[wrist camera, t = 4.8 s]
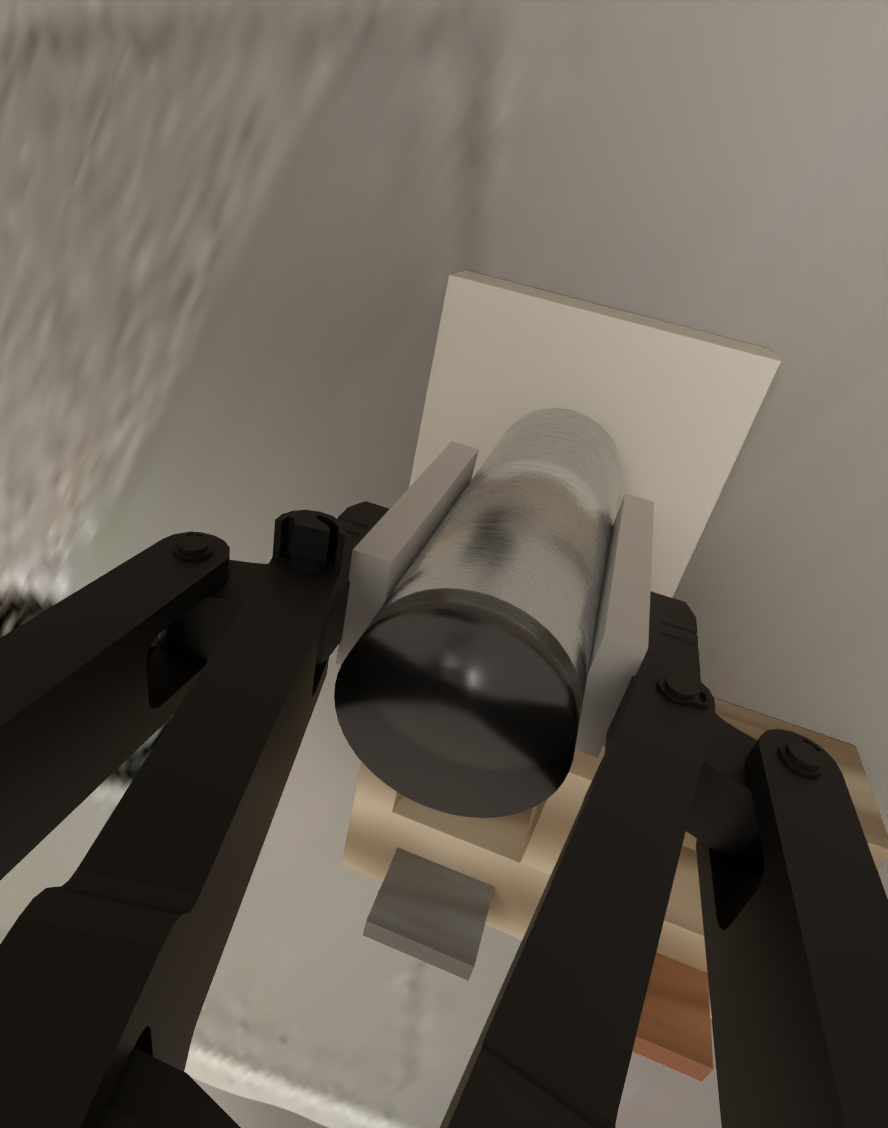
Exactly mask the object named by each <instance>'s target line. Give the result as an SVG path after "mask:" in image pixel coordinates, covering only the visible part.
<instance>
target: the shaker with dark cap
mask: <svg viewBox="0 0 888 1128" xmlns="http://www.w3.org/2000/svg"><path fill="white" fill-rule="evenodd" d="M620 479H621V462H620V457H619V453H618V450H617V448H616V445H615V443H614V441H613V440H612V438H611V437H610V435H609V434H608V433H607V432H606V430H605V429H604V428H603V427H602V426H601V425H599V424H598V423H597V422H596V421H594V420H593V419H591V418H590V417H588V416H586V415H584V414H582V413H579V412H576V411H573V410H568V409H560V408H551V409H543V410H539V411H535V412H532V413H530V414H528V415H526V416H524V417H522V418H520V419H519V420H517V421H516V422H515V423H514V424H513V425H511V426H510V427H509V429H508V430H507V431H506V432H505V433H504V435H503V436H502V437H501V439H500V440H499V442H498V443H497V445H496V446H495V447H494V449H493V450H492V452H491V453H490V454H489V456H488V457H487V459H486V460H485V462H484V463H483V464H482V466H481V467H480V469H479V470H478V471H477V473H476V474H475V476H474V477H473V478H472V480H471V481H470V483H469V484H468V486H467V487H466V488H465V490H464V491H463V493H462V494H461V495H460V497H459V498H458V500H457V501H456V503H455V504H454V505H453V507H452V508H451V510H450V511H449V512H448V514H447V515H446V517H445V518H444V519H443V521H442V522H441V524H440V525H439V527H438V528H437V529H436V531H435V532H434V534H433V535H432V536H431V538H430V539H429V541H428V542H427V544H426V545H425V546H424V548H423V549H422V551H421V552H420V553H419V555H418V556H417V558H416V559H415V560H414V562H413V563H412V565H411V566H410V568H409V569H408V570H407V572H406V573H405V575H404V576H403V577H402V579H401V580H400V582H399V583H398V585H397V586H396V587H395V589H394V590H393V592H392V593H391V594H390V596H389V597H388V599H387V600H386V601H385V603H384V604H383V606H382V607H381V609H380V610H379V611H378V613H377V614H376V616H375V617H374V618H373V620H372V621H371V623H370V624H369V626H368V627H367V628H366V630H365V631H364V633H363V634H362V635H361V637H360V638H359V640H358V641H357V642H356V644H355V645H354V647H353V648H352V650H351V651H350V652H349V654H348V655H347V657H346V658H345V660H344V661H343V663H342V665H341V667H340V670H339V672H338V675H337V679H336V683H335V695H334V698H335V709H336V713H337V717H338V721H339V724H340V726H341V729H342V732H343V734H344V736H345V738H346V739H347V741H348V743H349V745H350V746H351V748H352V749H353V751H354V752H355V754H356V755H357V756H358V758H359V759H360V760H361V761H362V762H363V763H364V765H365V766H366V767H367V768H368V769H369V770H370V771H371V772H372V773H373V774H374V775H375V776H376V777H378V778H379V779H380V780H381V781H383V782H384V783H385V784H386V785H388V786H389V787H391V788H392V789H394V790H395V791H397V792H398V793H400V794H401V795H403V796H405V797H407V798H409V799H411V800H412V801H415V802H417V803H419V804H421V805H424V806H426V807H429V808H432V809H434V810H437V811H440V812H444V813H448V814H452V815H457V816H464V817H473V818H496V817H503V816H510V815H514V814H517V813H521V812H524V811H526V810H529V809H531V808H533V807H536V806H537V805H539V804H541V803H542V802H544V801H545V800H547V799H548V798H549V797H550V796H551V795H553V794H554V793H555V792H556V791H557V790H558V788H559V787H560V786H561V785H562V784H563V782H564V780H565V779H566V777H567V775H568V773H569V771H570V768H571V765H572V762H573V758H574V752H575V746H576V740H577V734H578V728H579V722H580V716H581V711H582V705H583V699H584V693H585V687H586V680H587V674H588V668H589V662H590V656H591V650H592V644H593V638H594V632H595V626H596V621H597V615H598V609H599V603H600V597H601V591H602V585H603V579H604V573H605V567H606V561H607V555H608V550H609V544H610V538H611V532H612V526H613V521H614V515H615V509H616V503H617V497H618V491H619V485H620Z"/></svg>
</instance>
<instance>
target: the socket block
mask: <svg viewBox="0 0 888 1128" xmlns="http://www.w3.org/2000/svg"><path fill="white" fill-rule="evenodd" d="M714 699H715V713H716V714H717V715H719V716H720V717H721V718H722V719H723V720H724V721H726V722H727V723H729V724H731V725H732V726H734V727H735V728H737V729H739V730H740V731H742V732H744V733H746V734H747V735H749V736H751V737H753V738H754V739H756V740H758V739H759V737H760V736H761V735H762V734H763V733H764V732H765V731H766V730H772V729H782V730H788V731H793V732H795V733H797V734H799V735H802V736H804V737H806V738H808V739H810V740H812V741H813V742H814V743H816V744H818V745H819V746H820V747H822V748H823V749H824V750H825V751H826V752H827V753H828V754H829V755H830V756H831V757H832V758H833V759H834V760H835V761H836V763H837V765H838V767H839V768H840V770H841V772H842V774H843V776H844V779H845V782H846V785H847V788H848V790H849V793H850V796H851V799H852V802H853V804H854V807H855V810H856V813H857V815H858V818H859V821H860V824H861V827H862V829H863V832H864V835H865V838H866V840H867V843H868V846H869V849H870V852H871V854H872V857H873V860H874V863H875V865H876V868H877V870H878V869H879V868H880V866H881V865H882V864H883V863H884V862H885V861H886V860H887V859H888V835H887V832H886V829H885V826H884V824H883V821H882V818H881V815H880V813H879V810H878V807H877V804H876V802H875V799H874V796H873V793H872V790H871V788H870V785H869V782H868V779H867V777H866V774H865V771H864V768H863V766H862V763H861V760H860V757H859V755H858V752H857V749H856V746H853V745H850V744H847V743H844V742H841V741H838V740H835V739H832V738H829V737H827V736H824V735H821V734H818V733H815V732H812V731H809V730H806V729H803V728H800V727H797V726H794V725H792V724H789V723H786V722H783V721H780V720H777V719H774V718H771V717H768V716H765V715H762V714H759V713H756V712H754V711H751V710H748V709H745V708H742V707H739V706H736V705H733V704H730V703H727V702H724V701H721V700H719V699H716V698H714ZM605 743H606V741H605ZM605 743H604V745H603V747H602V749H601V752H600V754H599V756H598V758H596V757H594V756H591V755H588V754H585V753H583V752H580V751H577V750H575V752H574V758H573V762H572V765H571V768H570V771H569V773H568V775H567V777H566V779H565V780H564V782H563V784H562V785H561V786H560V787H559V788H558V790H557V791H556V792H555V793H554V794H553V795H551V796H550V797H549V798H548V799H547V800H545V801H544V802H542V803H541V804H539V805H537V806H536V807H533V808H531V809H529V810H526V811H524V812H521V813H517V814H514V815H510V816H503V817H496V818H473V817H464V816H457V815H452V814H448V813H444V812H440V811H437V810H434V809H432V808H429V807H426V806H424V805H421V804H419V803H417V802H415V801H412V800H411V799H409V798H407V797H405V796H403V795H401V794H400V793H398V792H397V791H395V790H394V789H392V788H391V787H389V786H388V785H386V784H385V783H384V782H383V781H381V780H380V779H379V778H378V777H376V776H375V775H374V774H373V773H372V772H371V771H370V770H369V769H368V768H367V767H366V766H365V765H364V763H363V762H361V767H360V773H359V778H358V783H357V788H356V793H355V798H354V803H353V809H352V814H351V819H350V824H349V829H348V834H347V839H346V844H345V850H344V855H343V860H342V865H343V866H345V867H348V868H350V869H352V870H355V871H357V872H360V873H362V874H364V875H367V876H369V877H372V878H374V879H376V880H379V881H381V882H383V883H382V885H381V888H380V890H379V892H378V895H377V897H376V899H375V902H374V904H373V906H372V909H371V911H370V914H369V916H368V918H367V921H366V925H365V929H364V933H363V935H364V936H366V937H369V938H371V939H373V940H376V941H378V942H380V943H383V944H385V945H387V946H389V947H392V948H394V949H396V950H399V951H401V952H403V953H406V954H408V955H410V956H413V957H415V958H417V959H420V960H422V961H424V962H427V963H429V964H431V965H434V966H436V967H438V968H440V969H443V970H445V971H447V972H450V973H452V974H454V975H457V976H459V977H461V978H464V979H466V980H469V978H470V975H471V973H472V970H473V968H474V965H475V961H476V957H477V953H478V949H479V945H480V941H481V938H482V934H483V930H484V926H485V925H487V926H489V927H492V928H494V929H497V930H499V931H501V932H504V933H506V934H509V935H511V936H513V937H516V938H518V939H521V940H522V939H523V937H524V935H525V933H526V930H527V928H528V926H529V924H530V921H531V919H532V917H533V914H534V912H535V910H536V908H537V905H538V903H539V901H540V898H541V896H542V894H543V892H544V889H545V887H546V885H547V883H548V880H549V878H550V876H551V873H552V871H553V869H554V867H555V864H556V862H557V860H558V858H559V855H560V853H561V851H562V848H563V846H564V844H565V842H566V839H567V837H568V835H569V833H570V830H571V828H572V826H573V823H574V821H575V819H576V817H577V814H578V812H579V810H580V807H581V805H582V803H583V801H584V800H583V799H584V797H585V795H586V793H587V790H588V788H589V786H590V784H591V782H592V780H593V778H594V775H595V773H596V771H597V769H598V767H599V765H600V763H601V761H602V758H603V756H604V752H605ZM696 840H697V838H695V837H694V836H692V835H691V834H689V833H688V832H685V836H684V840H683V845H682V849H681V853H680V857H679V861H678V865H677V869H676V873H675V877H674V882H673V886H672V890H671V894H670V898H669V902H668V906H667V910H666V915H665V919H664V923H663V927H662V931H661V935H660V939H659V943H658V948H657V952H656V956H655V960H654V964H653V968H652V972H651V976H650V980H649V985H648V989H647V993H646V997H645V1001H644V1005H643V1009H642V1013H641V1018H640V1022H639V1026H638V1030H637V1034H636V1038H635V1042H634V1046H633V1052H635V1053H637V1054H640V1055H642V1056H644V1057H647V1058H649V1059H651V1060H654V1061H656V1062H658V1063H661V1064H663V1065H665V1066H668V1067H670V1068H672V1069H674V1070H677V1071H679V1072H681V1073H684V1074H686V1075H688V1076H691V1077H693V1078H695V1079H698V1080H700V1081H703V1080H704V1079H705V1078H706V1076H707V1075H708V1074H709V1073H710V1072H711V1071H712V1070H713V1057H712V1040H711V1022H710V1019H712V1016H711V1005H710V994H709V983H708V972H707V962H706V951H705V940H704V929H703V919H702V908H701V897H700V886H699V875H698V865H697V854H696Z"/></svg>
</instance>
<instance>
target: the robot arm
mask: <svg viewBox="0 0 888 1128" xmlns="http://www.w3.org/2000/svg"><path fill="white" fill-rule="evenodd" d="M478 450H479V449H476V448H473V447H470V446H466V445H463V444H460V443H456V442H453V441H451V442H450V444H449V445H448V446H447V447H446V448H445V449H444V450H443V451H442V452H441V453H440V454H439V456H438V457H437V458H436V459H435V460H434V461H433V462H432V463H431V464H430V465H429V467H428V468H427V469H426V470H425V471H424V472H423V473H422V474H421V475H420V476H419V478H418V479H417V480H416V481H415V482H414V483H413V484H412V485H411V486H410V487H409V489H408V490H407V491H406V492H405V493H404V494H403V495H402V496H401V497H400V498H399V499H398V501H397V502H396V503H395V504H394V505H393V506H392V507H391V508H390V509H388V508H385V507H382V506H379V505H376V504H373V503H369V502H366V501H365V502H362V503H359V504H356V505H353V506H350V507H348V508H347V509H346V510H345V511H344V512H343V513H342V514H341V515H340V516H339V517H338V519H336V518H335V517H333V516H331V515H328V514H325V513H322V512H318V511H310V510H298V511H291V512H288V513H285V514H282V515H281V516H279V517H278V518H277V519H276V520H275V531H274V545H273V558H272V559H271V561H270V562H269V564H259V563H249V562H241V561H234V560H229V552H230V548H229V546H228V545H227V544H226V542H225V541H223V540H222V539H220V538H218V537H216V536H214V535H210V534H205V533H201V532H185V533H179V534H174V535H171V536H169V537H166V538H164V539H162V540H160V541H159V542H157V543H155V544H154V545H152V546H151V547H149V548H147V549H146V550H144V551H142V552H141V553H139V554H137V555H136V556H134V557H132V558H131V559H129V560H128V561H126V562H124V563H123V564H121V565H119V566H118V567H116V568H114V569H113V570H111V571H110V572H108V573H106V574H105V575H103V576H101V577H100V578H98V579H96V580H95V581H93V582H91V583H90V584H88V585H87V586H85V587H83V588H82V589H80V590H78V591H77V592H75V593H73V594H72V595H70V596H69V597H67V598H65V599H64V600H62V601H60V602H59V603H57V604H55V605H54V606H52V607H50V608H49V609H47V610H46V611H44V612H42V613H41V614H39V615H37V616H36V617H34V618H32V619H31V620H29V621H28V622H26V623H24V624H23V625H21V626H19V627H18V628H16V629H14V630H13V631H11V632H9V633H8V634H6V635H5V636H3V637H1V638H0V880H1V879H2V878H3V877H4V876H5V875H6V874H7V873H9V872H10V871H11V870H12V869H13V868H14V867H15V866H16V865H17V864H18V863H19V862H20V861H21V860H22V859H23V858H24V857H25V856H26V855H27V854H28V853H29V852H30V851H31V850H33V849H34V848H35V847H36V846H37V845H38V844H39V843H40V842H41V841H42V840H43V839H44V838H45V837H46V836H47V835H48V834H49V833H50V832H51V831H52V830H53V829H54V828H56V827H57V826H58V825H59V824H60V823H61V822H62V821H63V820H64V819H65V818H66V817H67V816H68V815H69V814H70V813H71V812H72V811H73V810H74V809H75V808H76V807H77V806H79V805H80V804H81V803H82V802H83V801H84V800H85V799H86V798H87V797H88V796H89V795H90V794H91V793H92V792H93V791H94V790H95V789H96V788H97V787H98V786H99V785H100V784H101V783H103V782H104V781H105V780H106V779H107V778H108V777H109V776H110V775H111V774H112V773H113V772H114V771H115V770H116V769H117V768H118V767H119V766H120V765H121V764H122V763H123V762H124V761H126V760H127V759H128V758H129V757H130V756H131V755H132V754H133V753H134V752H135V751H136V750H137V749H138V748H139V747H140V746H141V745H142V744H143V743H144V742H145V741H146V740H147V739H148V738H150V737H151V736H152V735H153V734H154V733H155V732H156V731H157V730H158V729H159V728H160V727H161V726H162V725H163V724H164V723H165V722H166V721H167V720H168V719H169V718H170V717H171V716H173V717H172V719H171V720H170V722H169V723H168V725H167V727H166V728H165V730H164V731H163V733H162V735H161V736H160V738H159V739H158V741H157V743H156V744H155V746H154V747H153V749H152V751H151V752H150V754H149V755H148V757H147V758H146V760H145V762H144V763H143V765H142V766H141V768H140V770H139V771H138V773H137V774H136V776H135V778H134V779H133V781H132V782H131V784H130V786H129V787H128V789H127V790H126V792H125V794H124V795H123V797H122V798H121V800H120V802H119V803H118V805H117V806H116V808H115V810H114V811H113V813H112V814H111V816H110V817H109V819H108V821H107V822H106V824H105V825H104V827H103V829H102V830H101V832H100V833H99V835H98V837H97V838H96V840H95V841H94V843H93V845H92V846H91V848H90V849H89V851H88V853H87V854H86V856H85V857H84V859H83V861H82V862H81V864H80V865H79V867H78V869H77V870H76V871H75V873H74V874H73V876H72V877H71V878H70V880H69V881H68V882H66V883H65V884H64V885H63V886H61V887H51V888H46V889H45V890H43V891H42V892H41V893H40V894H38V895H37V896H36V897H35V898H33V899H32V901H31V902H30V903H29V905H28V906H27V907H26V908H25V910H24V911H23V912H22V914H21V915H20V916H19V917H18V919H17V920H16V922H15V923H14V925H13V926H12V928H11V929H10V931H9V932H8V934H7V935H6V937H5V938H4V940H3V941H2V943H1V944H0V1128H240V1127H239V1126H238V1125H237V1124H236V1123H235V1122H234V1121H233V1120H232V1119H231V1117H230V1116H228V1114H227V1113H226V1112H224V1110H223V1109H222V1108H220V1106H219V1105H218V1104H217V1103H216V1102H215V1101H214V1100H213V1099H212V1098H211V1097H210V1096H209V1095H208V1094H207V1093H206V1092H205V1091H204V1090H203V1089H202V1088H201V1087H200V1086H199V1085H198V1084H197V1083H196V1082H195V1081H194V1080H193V1079H192V1078H191V1077H190V1076H189V1075H188V1074H187V1073H185V1072H184V1070H185V1066H186V1061H187V1057H188V1052H189V1048H190V1044H191V1039H192V1036H193V1033H194V1029H195V1026H196V1023H197V1020H198V1017H199V1014H200V1012H201V1009H202V1006H203V1004H204V1001H205V998H206V996H207V993H208V990H209V988H210V985H211V982H212V980H213V977H214V974H215V972H216V969H217V966H218V963H219V961H220V958H221V955H222V953H223V950H224V947H225V945H226V942H227V939H228V937H229V934H230V931H231V929H232V926H233V923H234V921H235V918H236V915H237V913H238V910H239V907H240V905H241V902H242V899H243V897H244V894H245V891H246V889H247V886H248V883H249V881H250V878H251V875H252V873H253V870H254V867H255V865H256V862H257V859H258V857H259V854H260V851H261V849H262V846H263V843H264V841H265V838H266V835H267V833H268V830H269V827H270V824H271V822H272V819H273V816H274V814H275V811H276V808H277V806H278V803H279V800H280V798H281V795H282V792H283V790H284V787H285V784H286V782H287V779H288V776H289V774H290V771H291V768H292V766H293V763H294V760H295V758H296V755H297V752H298V750H299V747H300V744H301V742H302V739H303V736H304V734H305V731H306V728H307V726H308V723H309V720H310V718H311V715H312V712H313V710H314V707H315V704H316V702H317V699H318V696H319V693H320V691H321V688H322V685H323V683H324V680H325V677H326V675H327V668H328V660H329V656H330V655H331V653H332V652H333V651H334V649H335V648H336V647H337V645H338V644H339V648H338V655H337V662H336V663H338V664H341V665H342V663H343V661H344V660H345V658H346V657H347V655H348V654H349V652H350V651H351V650H352V648H353V647H354V645H355V644H356V642H357V641H358V640H359V638H360V637H361V635H362V634H363V633H364V631H365V630H366V628H367V627H368V626H369V624H370V623H371V621H372V620H373V618H374V617H375V616H376V614H377V613H378V611H379V610H380V609H381V607H382V606H383V604H384V603H385V601H386V600H387V599H388V597H389V596H390V594H391V593H392V592H393V590H394V589H395V587H396V586H397V585H398V583H399V582H400V580H401V579H402V577H403V576H404V575H405V573H406V572H407V570H408V569H409V568H410V566H411V565H412V563H413V562H414V560H415V559H416V558H417V556H418V555H419V553H420V552H421V551H422V549H423V548H424V546H425V545H426V544H427V542H428V541H429V539H430V538H431V536H432V535H433V534H434V532H435V531H436V529H437V528H438V527H439V525H440V524H441V522H442V521H443V519H444V518H445V517H446V515H447V514H448V512H449V511H450V510H451V508H452V507H453V505H454V504H455V503H456V501H457V500H458V498H459V497H460V495H461V494H462V493H463V491H464V490H465V488H466V487H467V486H468V484H469V483H470V481H471V479H472V475H473V471H474V467H475V463H476V458H477V454H478ZM653 520H654V502H653V501H650V500H646V499H643V498H640V497H636V496H633V495H630V494H626V493H625V494H624V497H623V500H622V502H621V505H620V508H619V510H618V513H617V516H616V518H615V521H614V523H613V526H612V532H611V538H610V544H609V550H608V555H607V561H606V567H605V573H604V579H603V585H602V591H601V597H600V603H599V609H598V615H597V621H596V626H595V632H594V638H593V644H592V650H591V656H590V662H589V668H588V674H587V680H586V687H585V693H584V699H583V705H582V711H581V716H580V722H579V728H578V734H577V740H576V746H575V750H577V751H580V752H583V753H585V754H588V755H591V756H594V757H596V758H598V756H599V754H600V752H601V749H602V747H603V745H604V743H605V741H606V743H605V752H604V756H603V758H602V761H601V763H600V765H599V767H598V769H597V771H596V773H595V775H594V778H593V780H592V782H591V784H590V786H589V788H588V790H587V793H586V795H585V797H584V799H583V800H584V801H583V803H582V805H581V807H580V810H579V812H578V814H577V817H576V819H575V821H574V823H573V826H572V828H571V830H570V833H569V835H568V837H567V839H566V842H565V844H564V846H563V848H562V851H561V853H560V855H559V858H558V860H557V862H556V864H555V867H554V869H553V871H552V873H551V876H550V878H549V880H548V883H547V885H546V887H545V889H544V892H543V894H542V896H541V898H540V901H539V903H538V905H537V908H536V910H535V912H534V914H533V917H532V919H531V921H530V924H529V926H528V928H527V930H526V933H525V935H524V937H523V939H522V942H521V944H520V946H519V949H518V951H517V953H516V955H515V958H514V960H513V962H512V964H511V967H510V969H509V971H508V974H507V976H506V978H505V980H504V983H503V985H502V987H501V989H500V992H499V994H498V996H497V999H496V1001H495V1003H494V1005H493V1008H492V1010H491V1012H490V1015H489V1017H488V1019H487V1021H486V1024H485V1026H484V1028H483V1030H482V1033H481V1035H480V1037H479V1040H478V1042H477V1044H476V1046H475V1049H474V1051H473V1053H472V1055H471V1058H470V1060H469V1062H468V1065H467V1067H466V1069H465V1071H464V1074H463V1076H462V1078H461V1081H460V1083H459V1085H458V1087H457V1090H456V1092H455V1094H454V1096H453V1099H452V1101H451V1103H450V1106H449V1108H448V1110H447V1112H446V1115H445V1117H444V1119H443V1121H442V1124H441V1126H440V1128H615V1123H616V1118H617V1113H618V1108H619V1104H620V1100H621V1096H622V1092H623V1088H624V1083H625V1079H626V1075H627V1071H628V1067H629V1063H630V1059H631V1055H632V1051H633V1046H634V1042H635V1038H636V1034H637V1030H638V1026H639V1022H640V1018H641V1013H642V1009H643V1005H644V1001H645V997H646V993H647V989H648V985H649V980H650V976H651V972H652V968H653V964H654V960H655V956H656V952H657V948H658V943H659V939H660V935H661V931H662V927H663V923H664V919H665V915H666V910H667V906H668V902H669V898H670V894H671V890H672V886H673V882H674V877H675V873H676V869H677V865H678V861H679V857H680V853H681V849H682V845H683V840H684V836H685V832H688V833H689V834H691V835H692V836H694V837H695V838H697V840H696V854H697V865H698V875H699V886H700V897H701V908H702V919H703V929H704V940H705V951H706V962H707V972H708V983H709V994H710V1005H711V1016H712V1026H713V1037H714V1048H715V1059H716V1069H717V1080H718V1091H719V1102H720V1113H721V1123H722V1128H888V899H887V896H886V893H885V890H884V888H883V885H882V882H881V879H880V877H879V874H878V871H877V868H876V865H875V863H874V860H873V857H872V854H871V852H870V849H869V846H868V843H867V840H866V838H865V835H864V832H863V829H862V827H861V824H860V821H859V818H858V815H857V813H856V810H855V807H854V804H853V802H852V799H851V796H850V793H849V790H848V788H847V785H846V782H845V779H844V776H843V774H842V772H841V770H840V768H839V767H838V765H837V763H836V761H835V760H834V759H833V758H832V757H831V756H830V755H829V754H828V753H827V752H826V751H825V750H824V749H823V748H822V747H820V746H819V745H818V744H816V743H814V742H813V741H812V740H810V739H808V738H806V737H804V736H802V735H799V734H797V733H795V732H793V731H788V730H782V729H772V730H766V731H765V732H764V733H763V734H762V735H761V736H760V737H759V739H758V740H756V739H754V738H753V737H751V736H749V735H747V734H746V733H744V732H742V731H740V730H739V729H737V728H735V727H734V726H732V725H731V724H729V723H727V722H726V721H724V720H723V719H722V718H721V717H720V716H719V715H717V714H716V713H715V699H714V697H713V696H712V694H711V692H710V691H709V689H708V688H707V687H706V686H705V685H704V684H702V683H701V679H700V665H699V651H698V647H697V645H698V637H697V635H696V634H697V623H696V617H695V616H694V614H693V613H692V611H691V610H690V608H689V607H688V605H687V604H686V602H683V601H680V600H677V599H674V598H670V597H667V596H664V595H661V594H658V593H655V592H652V591H651V568H652V544H653Z"/></svg>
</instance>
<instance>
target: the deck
mask: <svg viewBox="0 0 888 1128" xmlns="http://www.w3.org/2000/svg"><path fill="white" fill-rule="evenodd" d="M780 362H781V361H780V360H779V358H778V357H777V356H776V355H775V353H774V352H773V351H772V350H771V349H768V348H764V347H760V346H756V345H752V344H748V343H745V342H741V341H737V340H733V339H729V338H725V337H721V336H718V335H714V334H710V333H706V332H702V331H698V330H694V329H691V328H687V327H683V326H679V325H675V324H671V323H667V322H664V321H660V320H656V319H652V318H648V317H644V316H640V315H637V314H633V313H629V312H625V311H621V310H617V309H613V308H609V307H606V306H602V305H598V304H594V303H590V302H586V301H582V300H579V299H575V298H571V297H567V296H563V295H559V294H555V293H552V292H548V291H544V290H540V289H536V288H532V287H528V286H525V285H521V284H517V283H513V282H509V281H505V280H501V279H498V278H494V277H490V276H486V275H482V274H478V273H474V272H471V271H467V270H465V271H461V272H457V273H454V274H450V275H449V278H448V284H447V289H446V294H445V299H444V305H443V310H442V315H441V320H440V326H439V331H438V336H437V342H436V347H435V352H434V357H433V363H432V368H431V373H430V378H429V384H428V389H427V394H426V400H425V405H424V410H423V415H422V421H421V426H420V431H419V436H418V442H417V447H416V452H415V458H414V463H413V468H412V473H411V479H410V484H409V487H410V486H411V485H412V484H413V483H414V482H415V481H416V480H417V479H418V478H419V476H420V475H421V474H422V473H423V472H424V471H425V470H426V469H427V468H428V467H429V465H430V464H431V463H432V462H433V461H434V460H435V459H436V458H437V457H438V456H439V454H440V453H441V452H442V451H443V450H444V449H445V448H446V447H447V446H448V445H449V444H450V442H451V441H453V442H456V443H460V444H463V445H466V446H470V447H473V448H476V449H479V450H478V454H477V458H476V463H475V467H474V471H473V475H472V478H473V477H474V476H475V474H476V473H477V471H478V470H479V469H480V467H481V466H482V464H483V463H484V462H485V460H486V459H487V457H488V456H489V454H490V453H491V452H492V450H493V449H494V447H495V446H496V445H497V443H498V442H499V440H500V439H501V437H502V436H503V435H504V433H505V432H506V431H507V430H508V429H509V427H510V426H511V425H513V424H514V423H515V422H516V421H517V420H519V419H520V418H522V417H524V416H526V415H528V414H530V413H532V412H535V411H539V410H543V409H551V408H560V409H568V410H573V411H576V412H579V413H582V414H584V415H586V416H588V417H590V418H591V419H593V420H594V421H596V422H597V423H598V424H599V425H601V426H602V427H603V428H604V429H605V430H606V432H607V433H608V434H609V435H610V437H611V438H612V440H613V441H614V443H615V445H616V448H617V450H618V453H619V457H620V462H621V479H620V485H619V491H618V497H617V503H616V509H615V515H614V521H615V518H616V516H617V513H618V510H619V508H620V505H621V502H622V500H623V497H624V494H625V493H626V494H630V495H633V496H636V497H640V498H643V499H646V500H650V501H653V502H654V520H653V544H652V568H651V591H652V592H655V593H658V594H661V595H664V596H667V597H670V598H673V595H674V593H675V591H676V589H677V587H678V585H679V582H680V580H681V578H682V576H683V574H684V571H685V569H686V567H687V565H688V563H689V561H690V558H691V556H692V554H693V552H694V550H695V548H696V545H697V543H698V541H699V539H700V537H701V534H702V532H703V530H704V528H705V526H706V524H707V521H708V519H709V517H710V515H711V513H712V510H713V508H714V506H715V504H716V502H717V500H718V497H719V495H720V493H721V491H722V489H723V487H724V484H725V482H726V480H727V478H728V476H729V473H730V471H731V469H732V467H733V465H734V463H735V460H736V458H737V456H738V454H739V452H740V450H741V447H742V445H743V443H744V441H745V439H746V436H747V434H748V432H749V430H750V428H751V426H752V423H753V421H754V419H755V417H756V415H757V412H758V410H759V408H760V406H761V404H762V402H763V399H764V397H765V395H766V393H767V391H768V389H769V386H770V384H771V382H772V380H773V378H774V375H775V373H776V371H777V369H778V367H779V365H780ZM471 480H472V479H471ZM614 521H613V523H614Z"/></svg>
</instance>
